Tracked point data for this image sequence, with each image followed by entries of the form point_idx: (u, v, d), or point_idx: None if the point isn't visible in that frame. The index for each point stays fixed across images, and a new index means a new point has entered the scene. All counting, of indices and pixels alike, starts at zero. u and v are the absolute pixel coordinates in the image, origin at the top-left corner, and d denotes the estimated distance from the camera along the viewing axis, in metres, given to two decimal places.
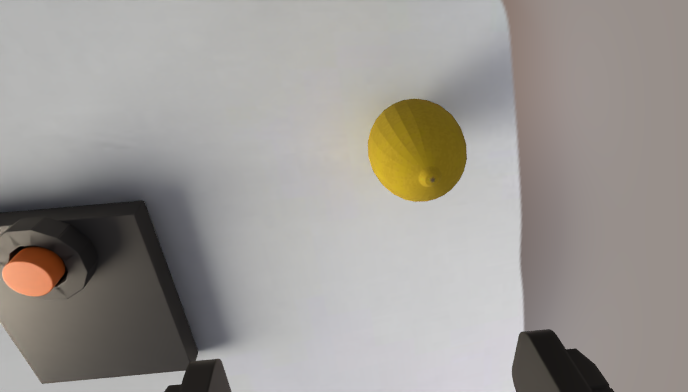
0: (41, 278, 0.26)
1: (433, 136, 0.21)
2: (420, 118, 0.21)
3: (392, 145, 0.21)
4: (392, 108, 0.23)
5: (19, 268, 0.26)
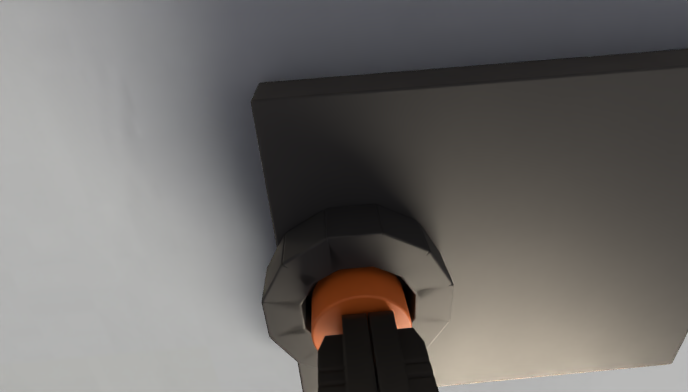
0: None
1: None
2: None
3: None
4: None
5: None
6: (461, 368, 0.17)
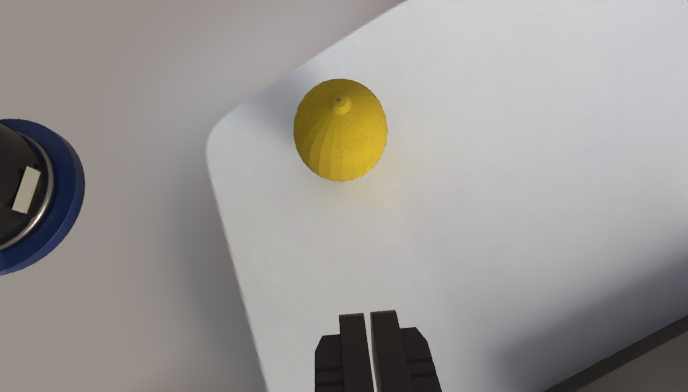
0: None
1: (305, 120, 0.22)
2: (300, 140, 0.23)
3: (330, 152, 0.22)
4: (312, 169, 0.24)
5: None
6: None
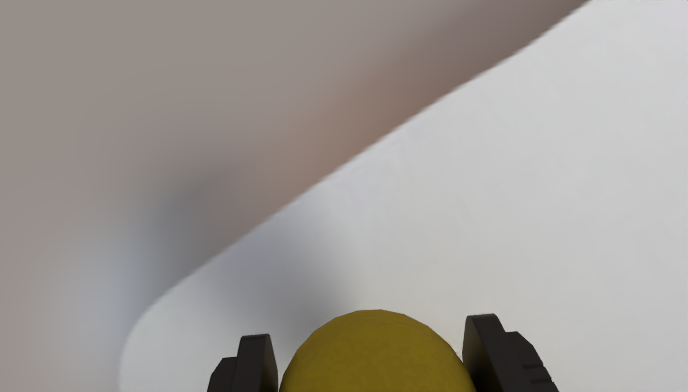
0: None
1: None
2: None
3: None
4: None
5: None
6: None
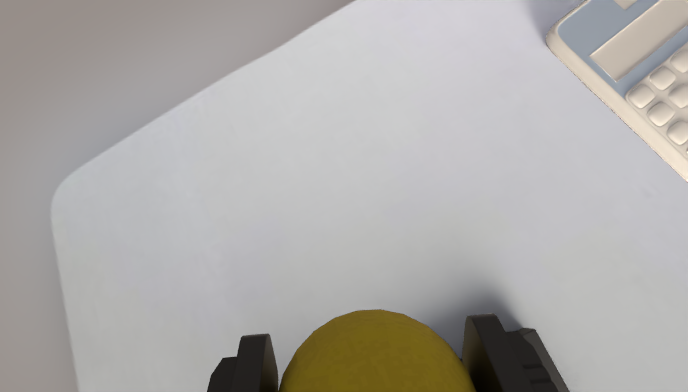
0: None
1: None
2: None
3: None
4: None
5: None
6: None
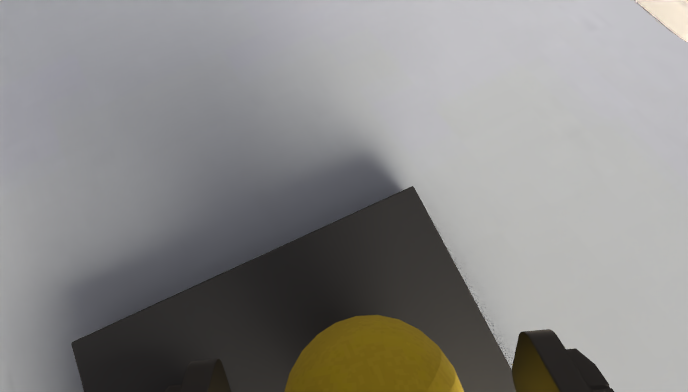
0: None
1: None
2: None
3: None
4: None
5: None
6: None
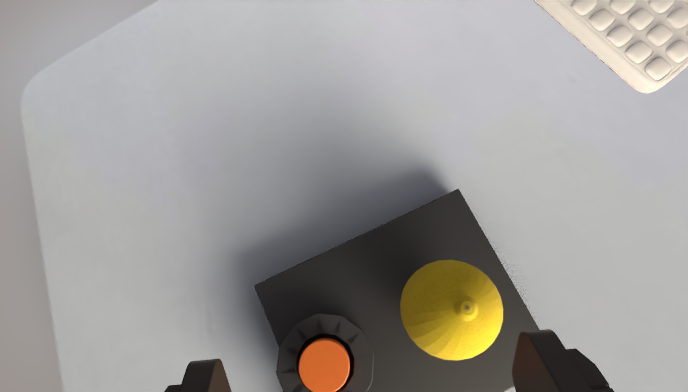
0: (318, 352, 0.24)
1: (426, 318, 0.21)
2: (416, 331, 0.22)
3: (452, 352, 0.21)
4: None
5: (310, 375, 0.24)
6: None
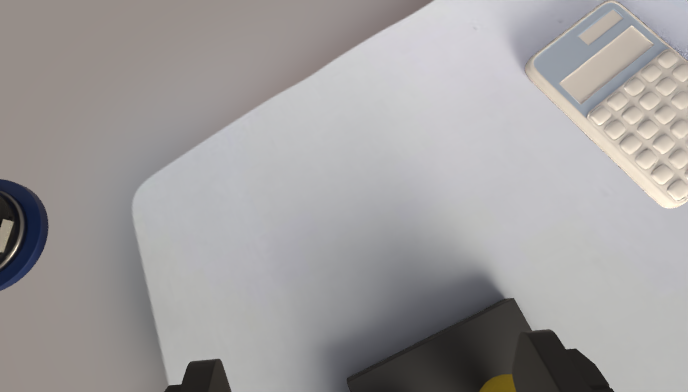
0: None
1: None
2: None
3: None
4: None
5: None
6: None
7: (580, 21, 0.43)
